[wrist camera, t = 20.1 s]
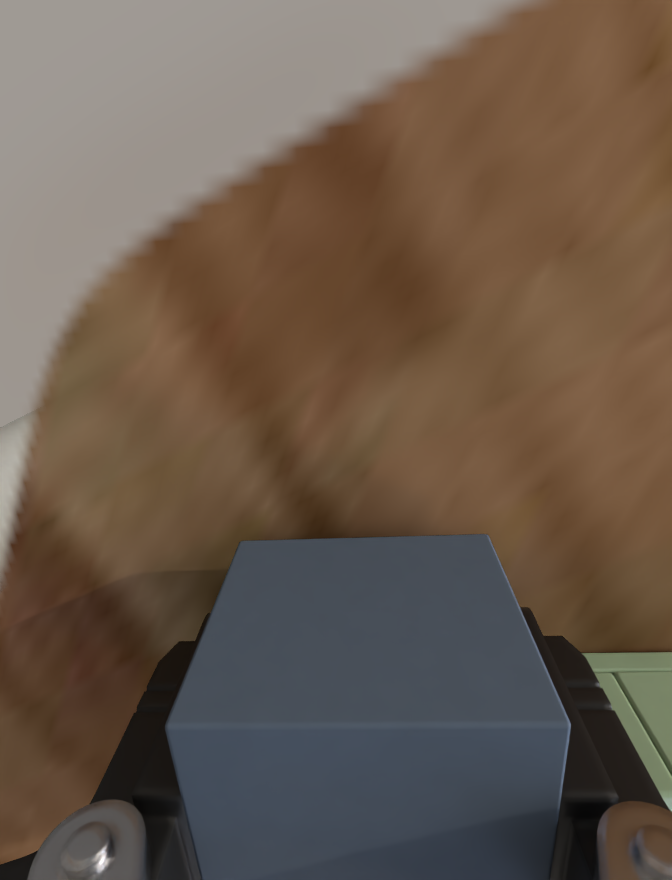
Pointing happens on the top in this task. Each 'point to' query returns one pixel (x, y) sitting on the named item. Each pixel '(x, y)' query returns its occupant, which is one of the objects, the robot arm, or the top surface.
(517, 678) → the blue block
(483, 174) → the top surface
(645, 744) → the frame
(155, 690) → the robot arm
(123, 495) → the top surface
